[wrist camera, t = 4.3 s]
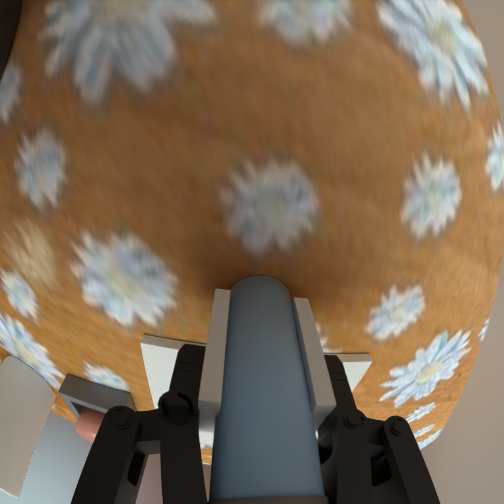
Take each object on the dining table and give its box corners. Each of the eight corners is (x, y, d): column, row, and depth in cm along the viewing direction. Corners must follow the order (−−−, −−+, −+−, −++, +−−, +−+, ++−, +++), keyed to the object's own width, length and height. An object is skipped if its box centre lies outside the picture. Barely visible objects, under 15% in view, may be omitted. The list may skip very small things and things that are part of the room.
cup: (58, 386, 21) (15, 500, 7) (54, 406, 24) (21, 498, 10) (3, 344, 19) (-53, 446, 5) (7, 372, 22) (-34, 457, 8)
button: (76, 403, 18) (68, 423, 16) (112, 415, 19) (105, 437, 17) (88, 421, 20) (82, 439, 18) (122, 432, 21) (116, 451, 18)
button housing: (67, 373, 20) (58, 391, 18) (130, 393, 20) (123, 414, 18) (87, 408, 23) (81, 424, 21) (142, 424, 23) (137, 442, 21)
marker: (228, 269, 14) (202, 542, 3) (299, 278, 15) (355, 531, 3) (222, 323, 16) (203, 540, 5) (284, 329, 16) (309, 538, 5)
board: (143, 334, 17) (139, 343, 16) (369, 353, 18) (372, 362, 17) (164, 431, 24) (163, 437, 23) (307, 441, 25) (307, 447, 24)
